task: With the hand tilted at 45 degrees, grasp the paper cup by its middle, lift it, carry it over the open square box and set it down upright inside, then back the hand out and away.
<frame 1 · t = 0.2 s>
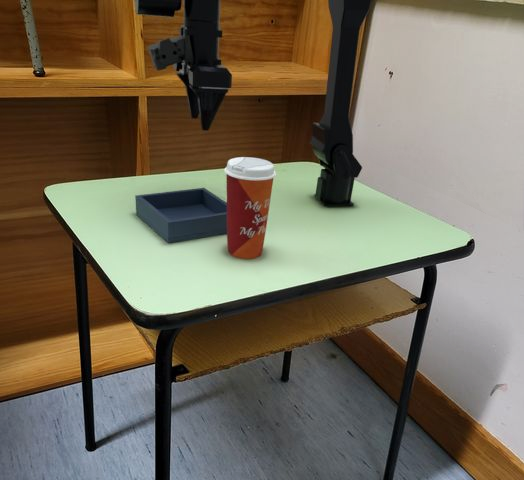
hand: (199, 124, 94), 15 cm above the table, tool pointing down, fingers open, 9 cm apart
paper cup: (245, 252, 86), on the table
open square box: (187, 222, 94), on the table
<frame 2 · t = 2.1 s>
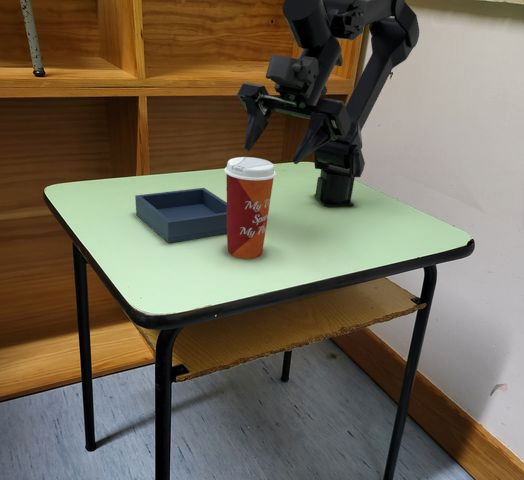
hand: (269, 156, 85), 13 cm above the table, tool tilted 40°, fingers open, 9 cm apart
nothing on the table moved.
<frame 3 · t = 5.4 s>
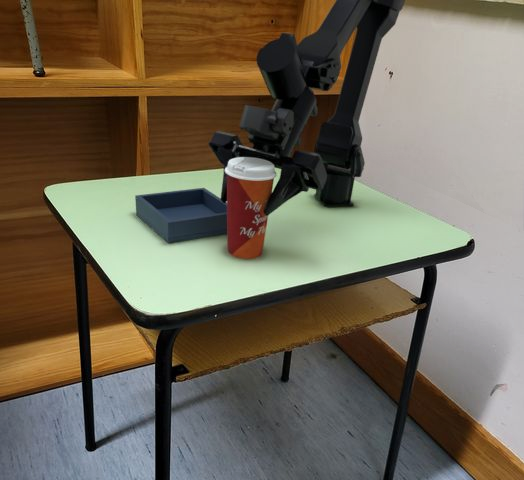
hand: (243, 207, 81), 8 cm above the table, tool tilted 45°, fingers closed on paper cup, 7 cm apart
paper cup: (245, 252, 86), on the table, touching gripper
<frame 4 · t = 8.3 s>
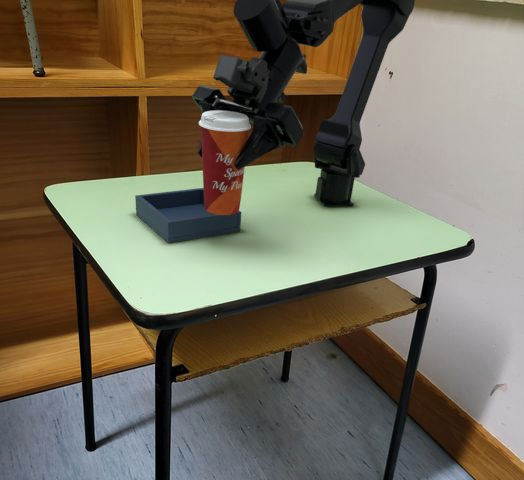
hand: (217, 161, 80), 13 cm above the table, tool tilted 45°, fingers closed on paper cup, 7 cm apart
paper cup: (222, 209, 86), point 5 cm above the table, touching gripper
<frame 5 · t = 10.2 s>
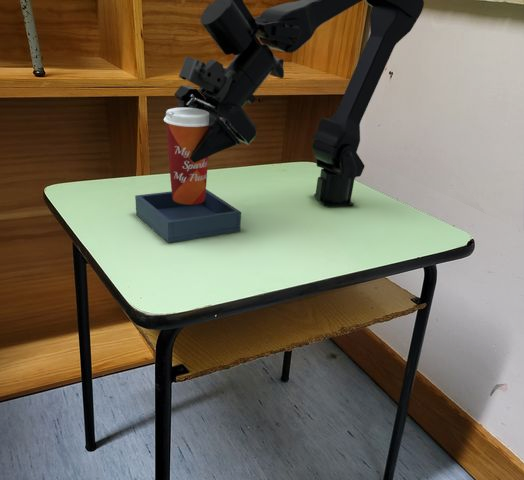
hand: (181, 154, 87), 12 cm above the table, tool tilted 45°, fingers closed on paper cup, 7 cm apart
paper cup: (189, 200, 92), point 4 cm above the table, touching gripper
when the fingers open (8 cm above the table, at t = 11.8 s): paper cup stays where it is, resting on open square box.
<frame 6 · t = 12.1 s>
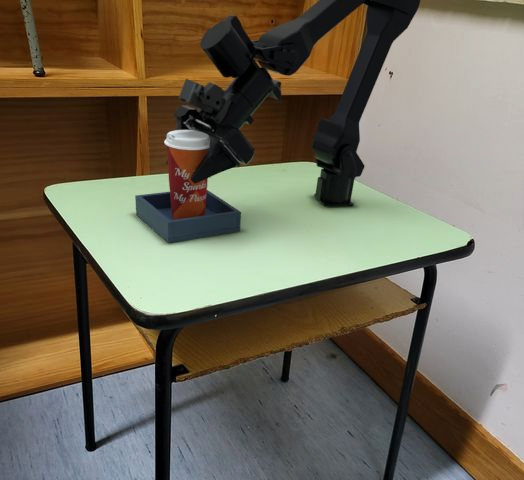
hand: (179, 173, 89), 9 cm above the table, tool tilted 45°, fingers open, 9 cm apart
paper cup: (188, 219, 94), point 1 cm above the table, touching open square box
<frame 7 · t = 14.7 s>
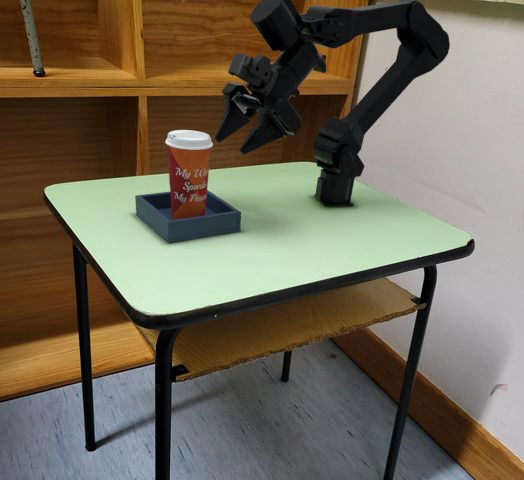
hand: (228, 146, 91), 12 cm above the table, tool tilted 45°, fingers open, 9 cm apart
nothing on the table moved.
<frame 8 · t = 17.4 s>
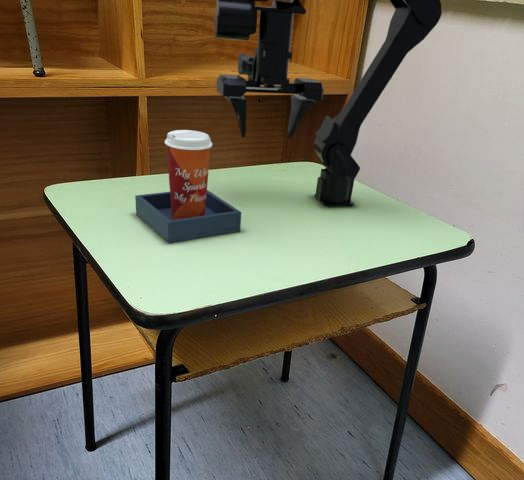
hand: (266, 137, 101), 12 cm above the table, tool pointing down, fingers open, 9 cm apart
nothing on the table moved.
at the end: paper cup inside the target area in the open square box (0.2 cm from its centre), point 0.6 cm above the open square box's base; paper cup tilted 0°; the gripper is holding nothing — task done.
